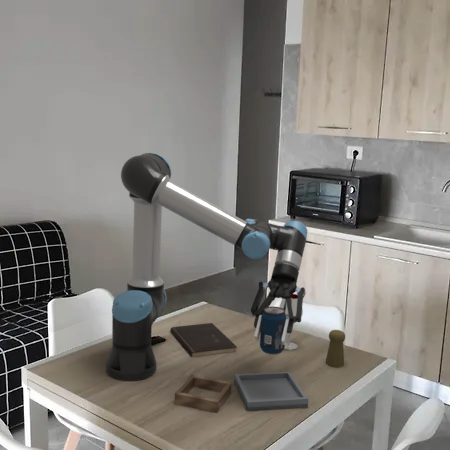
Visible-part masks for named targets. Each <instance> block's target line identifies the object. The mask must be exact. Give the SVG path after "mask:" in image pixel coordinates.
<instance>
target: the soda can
mask: <svg viewBox="0 0 450 450" xmlns="http://www.w3.org/2000/svg"><path fill="white" fill-rule="evenodd" d="M285 322H286V314H285V310H284V309H283V308H280V306H269V307H266V308H264V311H263V313H262V316H261V332H260V336H259V348H260V349H261V351H262V353H265V354H267V355H279V354H282V352H283V351H284V350H285V349H284V348H285V345H282V341H281V340H282V335H283V331H284V326H285Z"/></svg>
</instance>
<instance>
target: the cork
mask: <svg viewBox="0 0 450 450" xmlns="http://www.w3.org/2000/svg"><path fill="white" fill-rule="evenodd" d="M328 338H329V339H328V340H329V345H328V348H327V354H326V358H325V362H324V363H325V365H327V366H329V367H333V368H342V367H344V366H345V353H344V351H345V349H344V341H346V334H345V332H344V331H342V330H340V329H332V330H331V331H329V334H328Z"/></svg>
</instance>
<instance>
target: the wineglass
mask: <svg viewBox="0 0 450 450" xmlns="http://www.w3.org/2000/svg"><path fill="white" fill-rule="evenodd" d="M290 299H291V305H292V311H293V316H296V311H297V299H298V295H297V293H293V294H292V295H291V296H290ZM279 307H280V308H283V309H284V310H285V314H286V319H289V314H288V308H287V303H286V299H282V298H281V301H280V304H279ZM303 313H304V311H303V308H302V316H301V318H302V317H303ZM295 323H297V322H295ZM295 323H294V324H295ZM298 347H299V346H298V344H296V343H294V342H292V341H291V333H288V335H287V339H286V344H285V348H284V350H287V351H288V350H289V351H293V350H296V349H298Z"/></svg>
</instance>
